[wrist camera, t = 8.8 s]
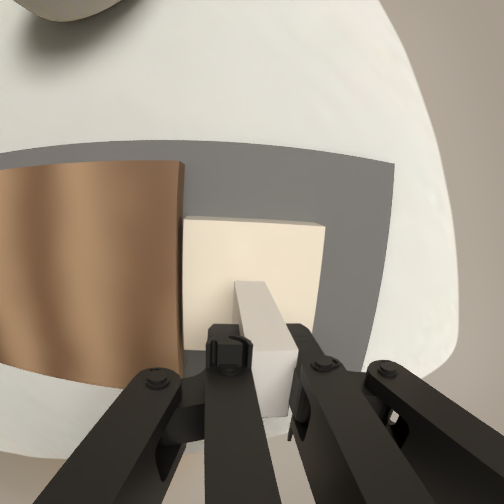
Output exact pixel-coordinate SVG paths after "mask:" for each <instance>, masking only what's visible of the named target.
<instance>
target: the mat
mask: <svg viewBox="0 0 504 504" xmlns="http://www.w3.org/2000/svg"><path fill="white" fill-rule="evenodd" d="M131 160H173V161H180V162H182V163H183V164H185V176H184V195H183V219H182V337H183V361H184V372H183V378H188V377H192V376H195V375H197V374H199V373H201V372H202V371H203V370H204V369H205V368H206V351H205V350H184V335H183V222H184V218H185V217H186V216H206V217H229V218H250V219H269V220H286V221H302V222H315V223H318V224H320V225H323V226H325V237H324V246H323V255H322V264H321V272H320V280H319V288H318V295H317V303H316V310H315V316H314V323H313V329H312V335H313V336H314V338H315V340H316V342H317V343H318V344H319V346H320V348H321V349H322V351H323V352H324V354H325V355H327V356H331V357H333V358H336V359H338V360H339V361H340V362H341V363H342V364H343V365H344V367H345V368H346V370H347V371H353V372H361V369H362V366H363V362H364V358H365V354H366V351H367V347H368V343H369V338H370V334H371V330H372V326H373V321H374V316H375V312H376V307H377V302H378V297H379V292H380V286H381V280H382V275H383V269H384V262H385V256H386V249H387V241H388V234H389V225H390V216H391V206H392V195H393V182H394V165H395V164H392V163H388V162H383V161H377V160H372V159H367V158H361V157H355V156H349V155H343V154H337V153H330V152H323V151H316V150H308V149H300V148H292V147H282V146H272V145H261V144H249V143H235V142H217V141H188V140H138V141H110V142H93V143H80V144H68V145H58V146H49V147H40V148H33V149H25V150H19V151H12V152H6V153H0V170H4V169H12V168H20V167H29V166H39V165H50V164H63V163H78V162H97V161H131Z"/></svg>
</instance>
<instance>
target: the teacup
mask: <svg viewBox="0 0 504 504" xmlns="http://www.w3.org/2000/svg"><path fill="white" fill-rule="evenodd" d="M14 1H15V2H16V3H18V4H19V5H21V6H22V7H24V8H26V9H27V10H29V11H30V12H32V13H34V14H36V15H37V16H40V17H42V18H44V19H47V20H51V21H58V22H66V21H74V20H79V19H83V18H86V17H89V16H92V15H95V14H97V13H99V12H101V11H103V10H105V9H107V8H109V7H111V6H113V5H114V4H116V3H118V2H119V1H121V0H14Z"/></svg>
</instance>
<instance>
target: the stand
mask: <svg viewBox="0 0 504 504" xmlns="http://www.w3.org/2000/svg"><path fill="white" fill-rule="evenodd" d="M184 176H185V164H183V163H182V162H180V161H173V160H131V161H97V162H78V163H63V164H50V165H39V166H29V167H20V168H12V169H4V170H0V363H3V364H6V365H9V366H13V367H16V368H20V369H23V370H27V371H31V372H35V373H39V374H43V375H47V376H52V377H56V378H61V379H66V380H71V381H76V382H81V383H87V384H93V385H99V386H105V387H112V388H119V389H125V388H126V386H127V385H128V384H129V383H130V381H131V380H132V379H133V378H134V377H135V375H136V374H138V373H139V372H140V371H142V370H145V369H147V368H153V367H161V368H167V369H170V370H173V371H175V372H176V373H177V374H179V376H180V378H183V372H184V361H183V337H182V219H183V195H184Z"/></svg>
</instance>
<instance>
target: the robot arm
mask: <svg viewBox="0 0 504 504" xmlns="http://www.w3.org/2000/svg"><path fill="white" fill-rule="evenodd" d="M289 405H290V408H291V411H292V418H291V423H290V428H289V433H288V441H291V438H292V435H294V438H295V441H296V444H297V447H298V450H299V454H300V456H301V460H302V463H303V466H304V469H305V472H306V475H307V478H308V481H309V484H310V488H311V490H312V494H313V496H314V500H315V503H316V504H504V436H503V435H501V434H500V433H499V432H497V431H496V430H494V429H493V428H491V427H490V426H488V425H487V424H485V423H484V422H482V421H481V420H479V419H478V418H476V417H475V416H474V415H472V414H471V413H469V412H468V411H466V410H465V409H463V408H462V407H460V406H459V405H458V404H456V403H454V402H453V401H452V400H450V399H449V398H447V397H446V396H445V395H443V394H442V393H440V392H439V391H437V390H436V389H434V388H433V387H432V386H430V385H429V384H427V383H426V382H424V381H423V380H421V379H420V378H419V377H417V376H416V375H414V374H413V373H411V372H410V371H408V370H407V369H406V368H404V367H403V366H401V365H399V364H397V363H395V362H392V361H390V360H378V361H374V362H372V363H370V364H369V366H368V369H367V372H366V373H365V372H353V371H347V370H346V368H345V367H344V365H343V364H342V363H341V362H340V361H339V360H338V359H336V358H333V357H331V356H327V355H325V354H324V352H323V351H322V349H321V348H320V346H319V344H318V343H317V342H316V340H315V338H314V336H313V335H312V333H311V332H310V330H309V329H308V328H307V327H305V326H304V325H302V324H301V323H285V321H284V319H283V317H282V315H281V313H280V311H279V309H278V307H277V305H276V303H275V301H274V299H273V297H272V295H271V293H270V291H269V289H268V287H267V285H266V283H265V282H260V281H234V296H233V318H232V324H213V325H212V326H211V327H210V328H209V329H208V338H207V342H206V368H205V369H204V370H203V371H202V372H201V373H199V374H197V375H195V376H192V377H188V378H180V376H179V374H177V373H176V372H175V371H173V370H170V369H167V368H161V367H153V368H147V369H145V370H142V371H140V372H139V373H138V374H136V375H135V377H134V378H133V379H132V380H131V381H130V383H129V384H128V385H127V386H126V388H125V389H124V390H123V391H122V393H121V394H120V395H119V396H118V397H117V399H116V400H115V401H114V402H113V404H112V405H111V406H110V407H109V409H108V410H107V411H106V412H105V413H104V415H103V416H102V417H101V418H100V420H99V421H98V422H97V423H96V425H95V426H94V427H93V428H92V430H91V431H90V432H89V433H88V434H87V436H86V437H85V438H84V439H83V441H82V442H81V443H80V444H79V446H78V447H77V448H76V449H75V451H74V452H73V453H72V454H71V456H70V457H69V458H68V459H67V461H66V462H65V463H64V465H63V466H62V467H61V468H60V470H59V471H58V472H57V474H56V475H55V476H54V477H53V478H52V480H51V481H50V482H49V484H48V485H47V486H46V487H45V489H44V490H43V491H42V492H41V494H40V495H39V496H38V497H37V499H36V500H35V501H34V503H33V504H161V503H162V501H163V499H164V496H165V494H166V491H167V490H168V487H169V485H170V483H171V480H172V478H173V476H174V473H175V471H176V469H177V466H178V464H179V462H180V459H181V457H182V455H183V452H184V450H185V448H186V443H188V442H193V441H198V440H203V439H204V455H205V456H204V457H205V459H204V464H205V504H282V503H281V499H280V495H279V491H278V487H277V482H276V478H275V474H274V470H273V465H272V461H271V457H270V452H269V448H268V444H267V439H266V434H265V430H264V425H263V421H262V418H269V417H285V416H287V415H288V410H289ZM393 410H394V411H395V412H396V413H398V414H399V417H398V420H397V422H396V423H394V422H392V421H391V420H390V417H391V415H392V412H393Z"/></svg>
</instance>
